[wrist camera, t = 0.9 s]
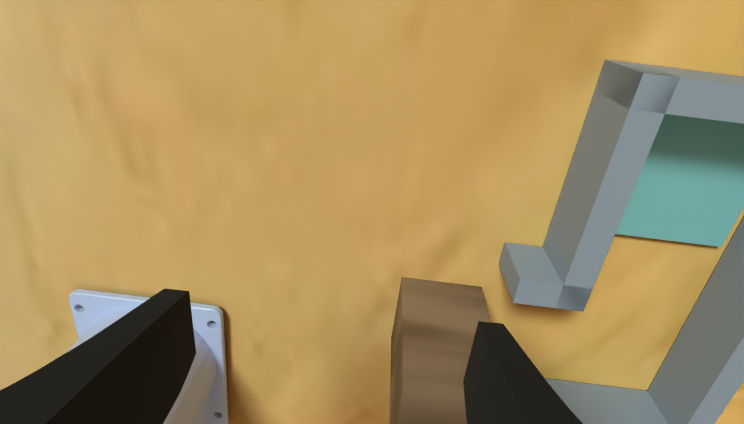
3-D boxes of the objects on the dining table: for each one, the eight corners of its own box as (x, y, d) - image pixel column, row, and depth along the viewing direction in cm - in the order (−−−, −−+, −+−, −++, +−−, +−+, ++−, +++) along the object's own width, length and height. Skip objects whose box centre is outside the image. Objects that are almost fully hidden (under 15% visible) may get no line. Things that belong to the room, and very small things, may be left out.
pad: (717, 243, 20) (721, 246, 20) (587, 227, 20) (590, 230, 20) (786, 114, 18) (792, 116, 17) (637, 96, 18) (640, 97, 17)
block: (465, 346, 24) (488, 472, 18) (391, 337, 24) (389, 460, 18) (481, 286, 22) (513, 403, 16) (401, 277, 22) (403, 389, 16)
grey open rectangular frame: (660, 408, 25) (691, 458, 23) (464, 384, 25) (471, 431, 23) (847, 89, 17) (929, 108, 15) (558, 53, 17) (588, 66, 15)
